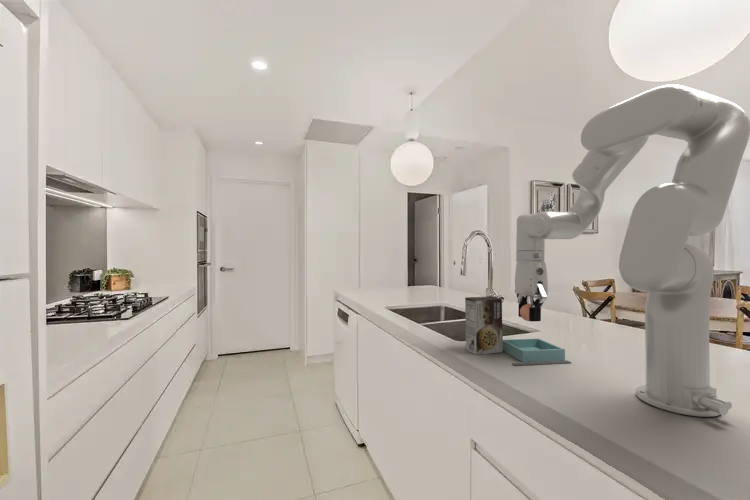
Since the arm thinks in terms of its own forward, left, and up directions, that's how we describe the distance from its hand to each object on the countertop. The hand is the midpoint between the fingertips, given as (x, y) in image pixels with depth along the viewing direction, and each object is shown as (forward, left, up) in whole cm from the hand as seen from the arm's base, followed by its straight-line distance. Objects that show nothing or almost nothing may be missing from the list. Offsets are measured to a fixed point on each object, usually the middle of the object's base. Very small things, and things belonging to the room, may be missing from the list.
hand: (529, 318), depth 100 cm
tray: (-1, 0, -10) cm, 10 cm away
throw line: (-9, +2, -10) cm, 14 cm away
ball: (0, 0, +2) cm, 2 cm away
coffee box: (+5, +12, -11) cm, 17 cm away
